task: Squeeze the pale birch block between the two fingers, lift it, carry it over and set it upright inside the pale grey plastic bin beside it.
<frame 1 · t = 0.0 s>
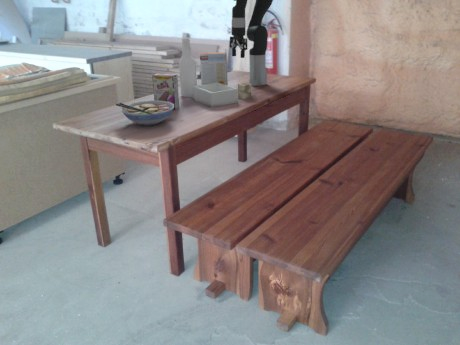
hand: (238, 56, 252), 17 cm above the table, tool pointing down, fingers open, 8 cm apart
bin: (215, 101, 231), on the table
ramen bowl: (149, 123, 198), on the table
birch block: (244, 97, 237), on the table
candy bar box: (167, 109, 220), on the table
cracker box: (214, 91, 252), on the table
alcohol: (189, 96, 244), on the table
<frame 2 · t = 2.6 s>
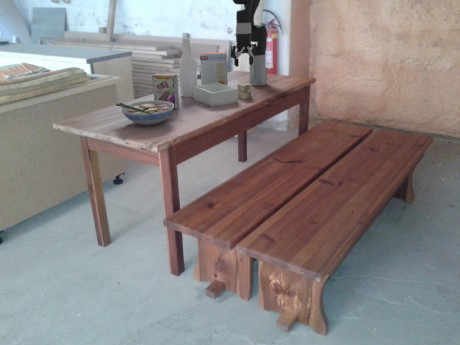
hand: (243, 65, 230), 16 cm above the table, tool pointing down, fingers open, 8 cm apart
nothing on the table moved.
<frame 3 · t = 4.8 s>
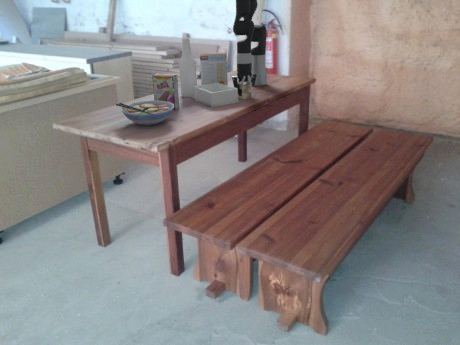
hand: (244, 94, 236), 1 cm above the table, tool pointing down, fingers closed on birch block, 5 cm apart
birch block: (244, 97, 237), on the table, touching gripper
everything else where it was.
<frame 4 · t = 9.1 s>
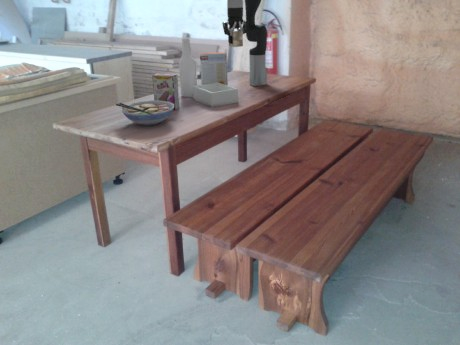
hand: (235, 43, 224), 28 cm above the table, tool pointing down, fingers closed on birch block, 5 cm apart
birch block: (235, 46, 225), point 26 cm above the table, touching gripper
everything else where it was.
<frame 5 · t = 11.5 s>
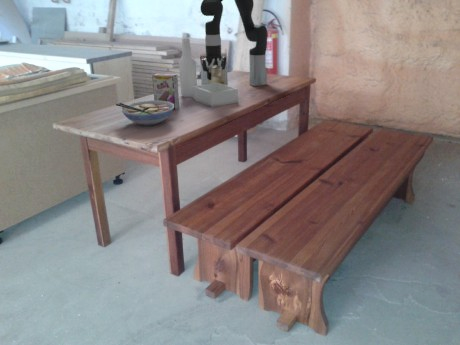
hand: (214, 78, 227), 11 cm above the table, tool pointing down, fingers closed on birch block, 5 cm apart
birch block: (214, 81, 228), point 10 cm above the table, touching gripper
everything else where it was.
when the fingers open (4 cm above the table, at t = 13.5 s): birch block drops 2 cm, resting on bin.
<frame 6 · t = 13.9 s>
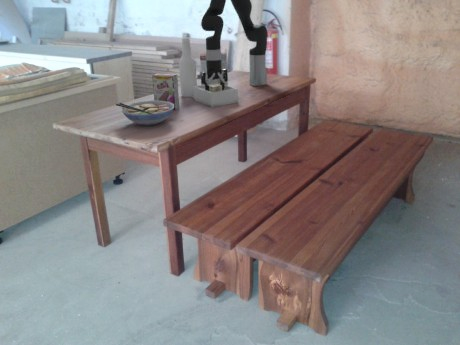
hand: (215, 91, 229), 5 cm above the table, tool pointing down, fingers open, 8 cm apart
birch block: (215, 99, 231), point 1 cm above the table, touching bin
everything else where it was.
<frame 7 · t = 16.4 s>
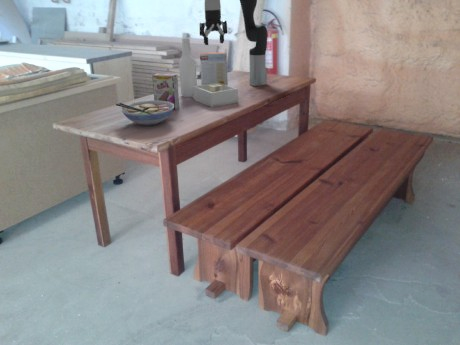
hand: (214, 44, 221), 28 cm above the table, tool pointing down, fingers open, 8 cm apart
nothing on the table moved.
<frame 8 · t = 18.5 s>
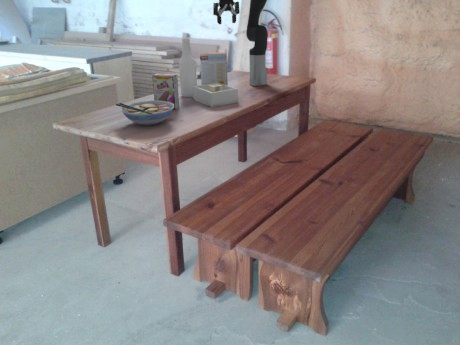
hand: (226, 23, 233), 36 cm above the table, tool pointing down, fingers open, 8 cm apart
nothing on the table moved.
at the end: birch block inside the target area on the bin (0.1 cm from its centre), point 1.0 cm above the bin's base; birch block tilted 0°; the gripper is holding nothing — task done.
